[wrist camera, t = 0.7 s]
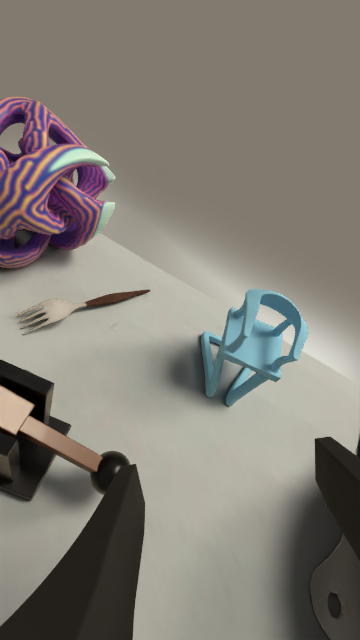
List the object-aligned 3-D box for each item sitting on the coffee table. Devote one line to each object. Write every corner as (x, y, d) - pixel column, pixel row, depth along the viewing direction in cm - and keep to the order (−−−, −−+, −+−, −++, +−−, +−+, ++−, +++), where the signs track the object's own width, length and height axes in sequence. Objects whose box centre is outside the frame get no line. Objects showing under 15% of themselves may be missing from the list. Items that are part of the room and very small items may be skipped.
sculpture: (110, 90, 36) (-71, 97, 35) (84, 97, 22) (-210, 108, 21) (127, 224, 45) (-14, 232, 44) (117, 285, 32) (-86, 297, 31)
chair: (187, 388, 35) (241, 328, 26) (201, 333, 40) (250, 268, 31) (248, 415, 36) (320, 366, 27) (254, 357, 41) (316, 301, 32)
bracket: (70, 428, 28) (83, 387, 21) (31, 501, 24) (32, 478, 17) (-16, 391, 27) (-29, 337, 21) (-71, 460, 23) (-109, 420, 17)
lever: (123, 463, 26) (144, 459, 24) (108, 502, 24) (129, 502, 22) (-9, 387, 22) (2, 375, 20) (-41, 427, 20) (-32, 418, 18)
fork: (147, 279, 41) (141, 288, 42) (16, 305, 30) (14, 315, 32) (156, 296, 40) (149, 304, 41) (25, 327, 30) (23, 336, 31)
